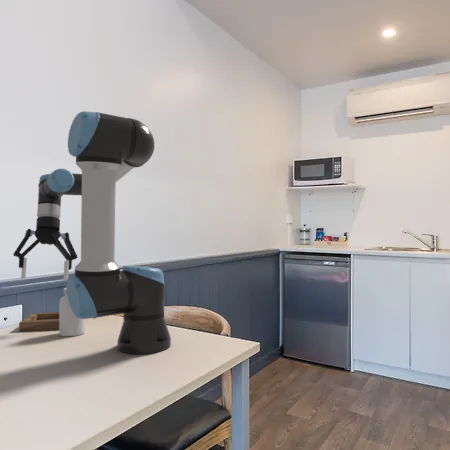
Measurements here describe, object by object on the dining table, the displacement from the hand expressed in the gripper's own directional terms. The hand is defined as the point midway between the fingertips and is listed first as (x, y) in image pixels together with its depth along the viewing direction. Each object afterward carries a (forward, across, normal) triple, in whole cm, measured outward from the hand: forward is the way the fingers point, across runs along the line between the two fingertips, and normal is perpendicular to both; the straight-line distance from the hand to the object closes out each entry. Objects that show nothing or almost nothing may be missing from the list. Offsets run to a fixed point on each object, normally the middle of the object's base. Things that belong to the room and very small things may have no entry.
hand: (45, 278), depth 137 cm
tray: (+15, -5, -11) cm, 19 cm away
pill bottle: (+19, -8, +6) cm, 21 cm away
